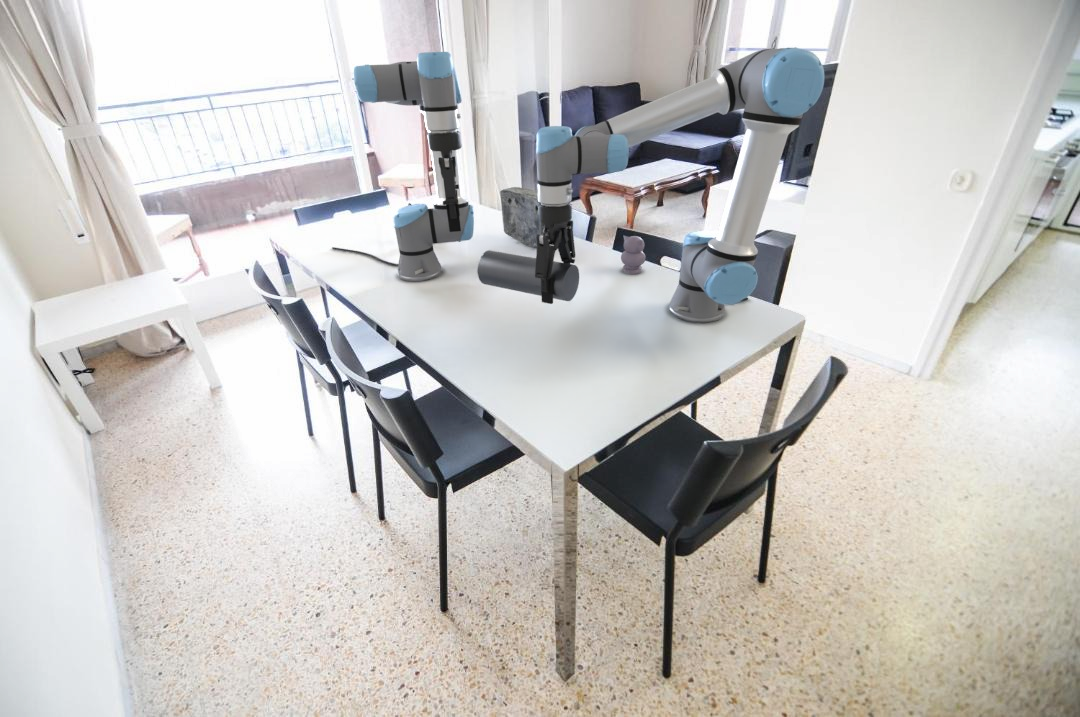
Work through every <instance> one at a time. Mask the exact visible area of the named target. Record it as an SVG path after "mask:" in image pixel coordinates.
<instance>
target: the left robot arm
mask: <svg viewBox="0 0 1080 717" xmlns="http://www.w3.org/2000/svg"><path fill="white" fill-rule="evenodd" d="M455 68H456V67H455V65H454V64H453V57H452V54H451V53H450V52H449V51H429V52H428V51H425V52H419V53H418V54H417V56H416V60H414V61H412V60H411V61H398V62H394V63H390V64H364V65H355V66H354V68H353V69H352V74H353V75H352V76H353V82H354V87H355V91H356V95H357V98H358V100H359V101H360V102H362V103H372V104H376V103H387V104H393V105H399V106H407V107H408V106H413V107H415V106H419V112H420V113H421V114H422V115H423V116H424V124H425V129H426V131H427V135H426V136H427V141H428V149H429V150H430V155H431V156H430V157H431V162H432V169H433V179H434V184H435V191H436V198H435V200H433V207H432V208H429V207H428V205H427V204H425V203H413V204H411V205H409V206H408V205H406V206H403V207H401V208H398V209H397V210H396V211H394V213H393V216H392V219H393V228H394V230H395V231H394V232H395V236H396V241H397V247H398V251H399V259H398V263H394V262H389V261H386V260H384V259H381V258H379V257H377V256H376V255H373V254H370V253H367V252H364V251H359V250H353V249H348V248H347V249H346V248H340V247H336V246H335V247H333V246H332V247H331V249H332V250H336V251H342V252H349V253H355V254H360V255H364V256H367V257H370V258H373V259H375V260H377V261H378V262H380V263H383V264H386V265H390V266H393V267H397V276H398V278H399V279H400V280H402V281H406V282H413V283H414V282H425V281H429V280H432V279H435V278H438V277H439V276H440V275H441V274H442V273H443V268H442V264H441V263H440V260H439V259H438V256H437V254H436V252H435V250H434V245H436V244H444V243H445V244H447V243H455V242H458V243H461V242H465V241H470V240H471V239H472V238H473V237H474V228H475V215H474V211H475V209H474V206H473V205H472V204H469V199H468V198H467V197H465V196H464V193H463V185H462V184H463V183H462V175H461V166H460V158H459V150H460V149H461V148H462V146H463V145H462V144H463V143H462V136H461V132H460V131H459V129H460V121H459V119H461V118H462V115H461V113H458V111H459V109H458V108H459V106H458V105H459V104H461V103H462V93H461V89H460V84H459V80H458V76H457V72H456V69H455Z"/></svg>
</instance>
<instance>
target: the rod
mask: <svg viewBox="0 0 1080 717" xmlns="http://www.w3.org/2000/svg"><path fill="white" fill-rule="evenodd" d="M535 268H536V257H532V256H525V255H519V254H514V253H508V252H502V251H495V250H490V249H489V250H486V251H484V252H482V255H481V256H480V258H479V261H478V263H477V277H478V280H479V281H480V283H482V284H483V285H486V286H492V287H496V288H501V289H506V290H510V291H515V292H521V293H525V294H530V295H535V296H540V297H542V295H541V279H540V278H536V277H535ZM550 277H552V278H553V300H554V299H555V300H559V301H564V302H570V301H572V300H573V299H574V298H575V296H576V294H577V292H578V288H579V285H580V270H579V267H578V266H577V265H576V264H573V263H570V264H567V263H563V262H562V261H556V260H555V261H554V260H553V266H552V271H551V276H550Z"/></svg>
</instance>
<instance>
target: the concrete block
mask: <svg viewBox="0 0 1080 717" xmlns="http://www.w3.org/2000/svg"><path fill="white" fill-rule="evenodd" d="M499 193H500V203H501V218H502V225H503V232H504V234H505V235H507V236H508V237H510V238H512V239H514V240H515V241H517V242H520V243H521V244H522V245H525V246H528V247H530V248H536V249H537V239H536V237H537V234H540V235H542V234H543V230H544V223H543V222H541V221H540V220H539V209H538V205H539V204H540V202H539V201H538V190H533V189H530V188H524V187H519V186H513V187H507V188H503V189H501V190H500V191H499ZM549 245H550V244H549Z"/></svg>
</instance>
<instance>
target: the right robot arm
mask: <svg viewBox="0 0 1080 717" xmlns="http://www.w3.org/2000/svg"><path fill="white" fill-rule="evenodd" d="M824 85H825V69H824V66H823V64H822V61H821V60H820V58H819V56H817V54H815V53H814V52H813V51H810V50H808V49H804V48H799V47H783V48H764V49H760V50H757V51H754V52H751V53H750V54H748V55H745V56H744V57H742V58H739V59H737V60H735V61H733V62H731V63H728V64H726V65H724V66H722V67H720V68H717V69H715V70H714V71H713V72H712V73H711V75H710V77H709V78H705V79H703V80H701V81H699V82H696V83H693V84H691V85H689V86H686V87H684V88H682V89H679V90H677V91H675V92H672V93H669V94H667V95H665V96H662V97H660V98H658V99H655V100H653V101H650V102H648V103H644V104H642V105H640V106H638V107H635V108H633V109H631V110H627V111H626V112H623V113H621V114H617V115H616V116H613V117H611V118H609V119H606V120H604V121H601V122H599V123H597V124H594V125H585V126H582V127H581V128H579V129H578V130H577V131H576V132H575V134H574V135H573V130H572V128H571V127H569V126H566V125H549V126H544V127H540V128H539V129H538V130H537V132H536V148H535V149H536V150H535V153H536V156H535V157H536V171H537V172H536V174H537V175H536V177H537V192H538V201H539V202H540V204H539V205H538V209H539V220H540V221H541V222H543V223H544V230H543V234H542V235H540V234H537V237H536V239H537V248H536V257H535V258H536V268H535V277H536V278H540V279H541V295H542V296H541V303H543V304H550V305H552V304H554V298H553V278H552V277H550V276H551V271H552V266H553V261H554V260H555V255H556V251H557V250H558V254H559V257H560V262H561V263H567V264H573V265H575V262H576V259H575V258H576V247H575V238H574V221H573V220H572V218H573V205H572V203H571V201H572V200H573V198H572V193H573V192H574V189H573V188H572V183H573V182H572V181H573V180H572V179H573V178H572V177H573V175H580V174H581V175H583V174H585V175H586V174H607V173H608V174H612V173H619V172H623V171H624V170H625V169H626V168H627V166H628V163H629V155H630V154H629V153H630V151H629V150H630V149H629V148H631V147H634V146H637V145H639V144H642V143H644V142H646V141H649V140H652V139H654V138H657V137H659V136H662V135H665V134H666V133H667V134H668V133H669V132H672V131H675V130H677V129H679V128H682V127H684V126H686V125H689V124H692V123H694V122H697V121H699V120H702V119H704V118H707V117H709V116H712V115H714V114H716V113H719V114H721V115H723V116H724V115H727V114H729V113H731V112H735V111H739V110H743V112H742V117H741V121H742V123H743V124H744V126H745V129H746V130H745V133H744V137H743V139H742V144H741V147H740V150H739V155H738V158H737V162H736V164H735V169H734V172H733V175H732V179H731V184H730V187H729V190H728V194H727V197H726V201H725V205H724V209H723V212H722V215H721V220H720V222H719V226H718V229H717V230H698V231H692V232H689V233H687V234H685V236H684V239H683V244H682V251H681V261H680V267H679V268H680V270H679V278H678V286H677V287H676V289H675V291H674V293H673V295H672V296H671V299H670V302H669V306H668V309H669V313H670V314H671V315H672V316H674V317H675V318H677V319H679V320H682V321H685V322H688V323H689V322H690V323H696V324H697V323H698V324H706V323H708V324H709V323H713V322H717V321H719V320H721V319H722V318H724V315H725V311H726V310H725V307H726V305H727V306H729V305H735V304H738V303H741V302H744V301H748V300H749V296H750V295H751V294H752V293H753V292H754V291H755V289H756V287H757V284H758V280H759V276H758V273H757V270H756V267H754V265H755V262H756V259H757V256H758V252H759V251H758V248H757V247H756V245H755V240H756V237H757V234H758V230H759V227H760V224H761V221H762V218H763V215H764V212H765V209H766V205H767V203H768V199H769V196H770V193H771V191H772V187H773V183H774V180H775V177H776V174H777V171H778V168H779V165H780V162H781V159H782V155H783V153H784V149H785V146H786V144H787V140H788V138H789V135H790V134H791V133H792V132H793V131H794V130H796V129H797V128H799V127H800V125H801V121H802V118H803V115H804V114H805V113H807V112H808V111H809V109H810V108H811V107H813V106H814V105H815V104H816V103H817V102H818V100H819V99H820V97H821V95H822V92H823V89H824ZM549 244H550V245H549Z"/></svg>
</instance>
